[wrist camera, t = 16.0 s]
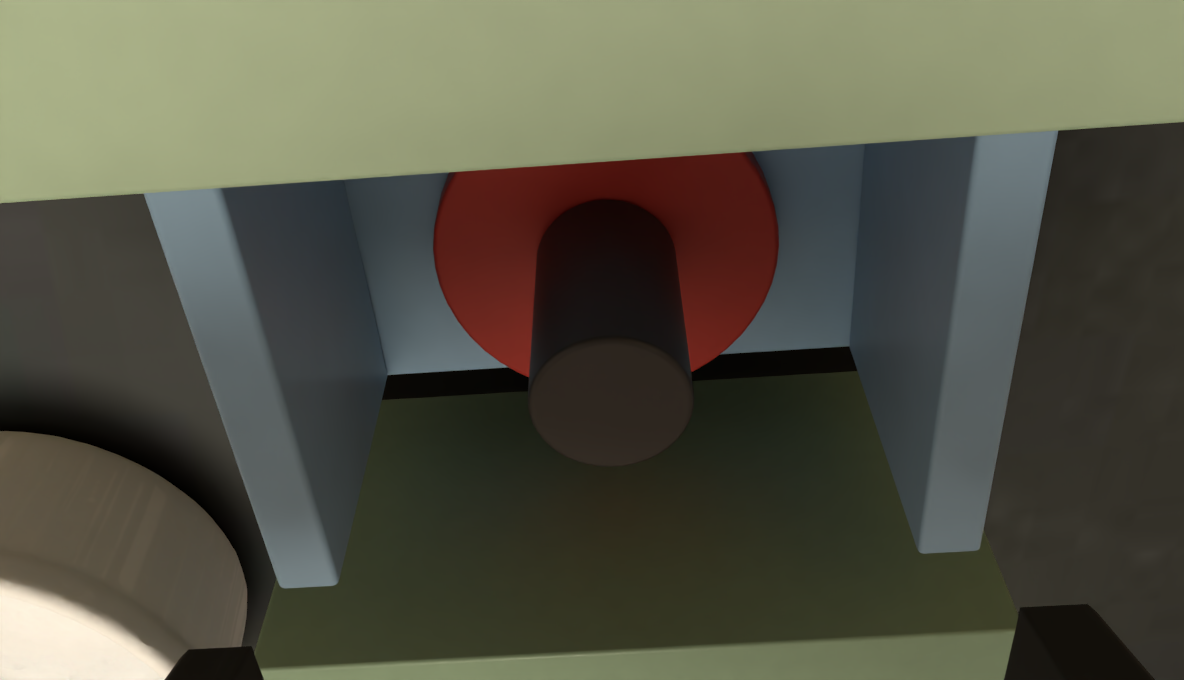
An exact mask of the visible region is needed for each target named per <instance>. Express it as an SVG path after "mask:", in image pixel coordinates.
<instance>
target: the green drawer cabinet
mask: <svg viewBox="0 0 1184 680" xmlns="http://www.w3.org/2000/svg"><path fill="white" fill-rule="evenodd" d="M1175 122H1184V0H0V203H10V202H24V201H39V200H53V199H68V198H82V197H97V196H111V195H126V194H141V193H155V192H170V191H184V190H199V189H213V188H228V187H243V186H257V185H272V184H286V183H301V182H315V181H330V180H345V179H359V178H374V177H388V176H403V175H417V174H432V173H447V172H461V171H476V170H490V169H505V168H519V167H534V166H549V165H563V164H578V163H592V162H607V161H621V160H636V159H651V158H665V157H680V156H694V155H709V154H723V153H738V152H752V151H767V150H782V149H796V148H811V147H825V146H840V145H854V144H869V143H884V142H898V141H913V140H927V139H942V138H956V137H971V136H986V135H1000V134H1015V133H1029V132H1044V131H1058V130H1073V129H1088V128H1102V127H1117V126H1131V125H1146V124H1160V123H1175Z"/></svg>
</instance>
